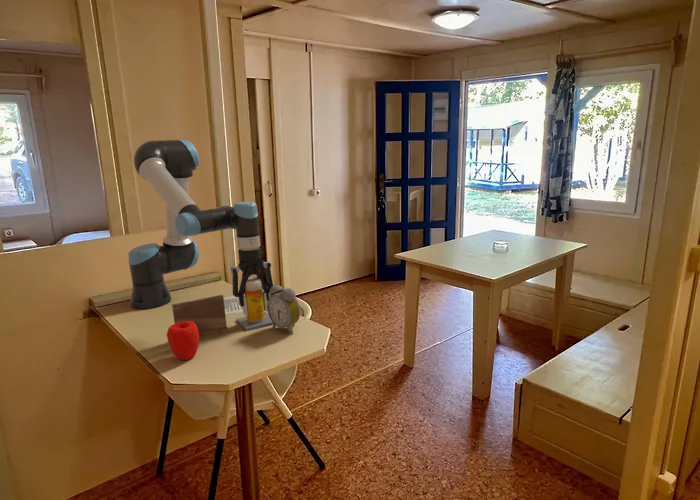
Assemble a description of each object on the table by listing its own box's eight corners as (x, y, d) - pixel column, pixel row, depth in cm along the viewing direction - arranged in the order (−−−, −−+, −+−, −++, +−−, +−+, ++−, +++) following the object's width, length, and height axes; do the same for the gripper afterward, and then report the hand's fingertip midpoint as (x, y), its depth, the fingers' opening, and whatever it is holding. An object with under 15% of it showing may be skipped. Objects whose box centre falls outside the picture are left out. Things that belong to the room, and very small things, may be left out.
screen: (175, 337, 149) (171, 303, 146) (224, 326, 157) (220, 293, 154) (178, 343, 145) (173, 307, 142) (228, 331, 152) (224, 297, 150)
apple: (177, 350, 139) (173, 317, 137) (205, 350, 139) (201, 317, 136) (165, 364, 130) (160, 329, 128) (195, 364, 130) (190, 328, 128)
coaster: (236, 320, 161) (236, 318, 161) (265, 314, 166) (265, 311, 166) (246, 331, 152) (245, 328, 152) (277, 323, 157) (276, 321, 157)
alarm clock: (268, 328, 154) (264, 285, 150) (283, 321, 158) (280, 280, 155) (290, 336, 146) (286, 292, 142) (306, 329, 151) (303, 286, 147)
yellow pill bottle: (260, 323, 155) (257, 281, 152) (244, 323, 157) (240, 281, 153) (267, 317, 161) (263, 276, 158) (251, 316, 162) (247, 276, 159)
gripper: (223, 254, 145) (231, 321, 150) (280, 245, 155) (285, 309, 160) (217, 250, 152) (224, 315, 157) (272, 242, 161) (277, 303, 166)
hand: (255, 312), depth 158 cm, fingers open, 6 cm apart
